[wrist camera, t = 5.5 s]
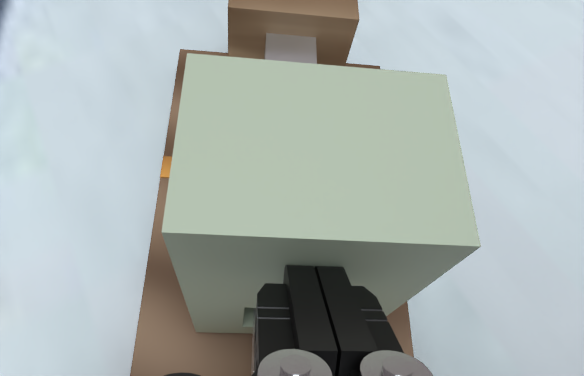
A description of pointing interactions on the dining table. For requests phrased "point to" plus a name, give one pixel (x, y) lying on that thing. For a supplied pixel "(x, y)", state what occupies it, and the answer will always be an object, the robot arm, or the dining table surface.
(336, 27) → the wooden slider rail stand
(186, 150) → the upright sage green block
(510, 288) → the dining table surface
